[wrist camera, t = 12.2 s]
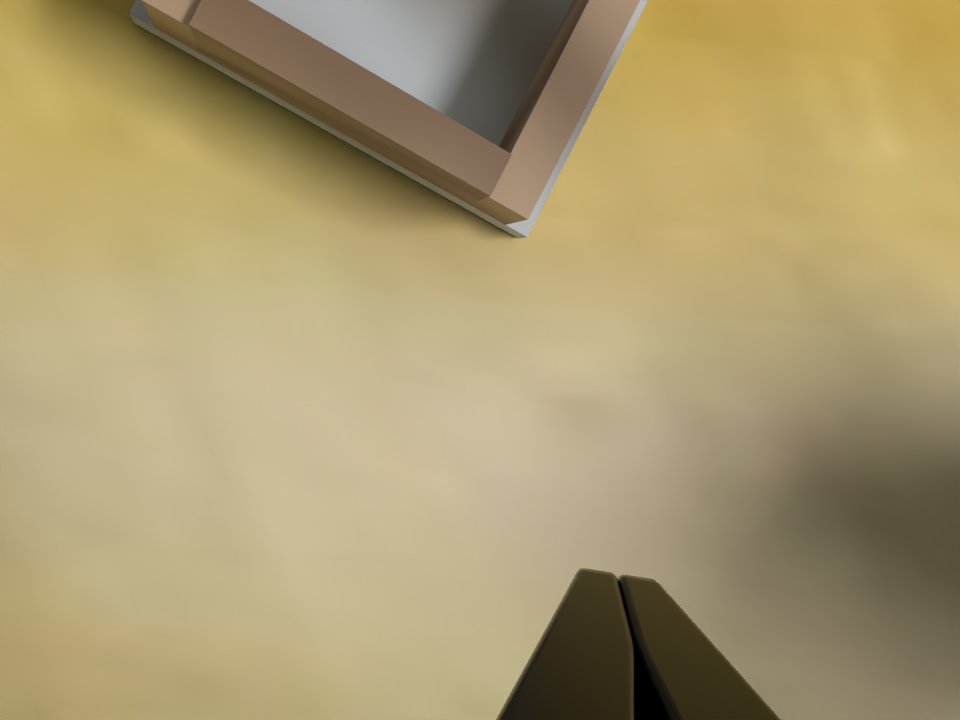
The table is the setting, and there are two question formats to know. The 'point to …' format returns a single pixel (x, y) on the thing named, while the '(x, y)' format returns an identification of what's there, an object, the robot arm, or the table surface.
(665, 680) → the robot arm
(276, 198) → the table surface
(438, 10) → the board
